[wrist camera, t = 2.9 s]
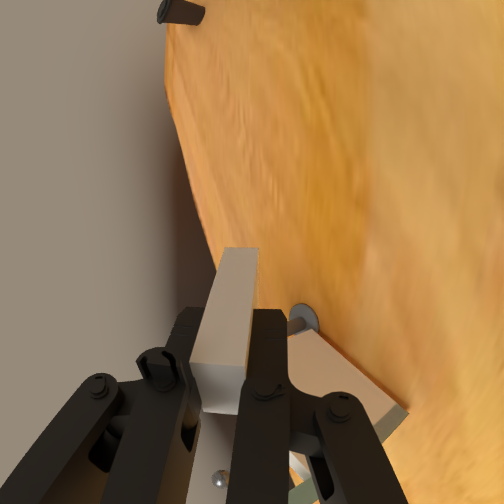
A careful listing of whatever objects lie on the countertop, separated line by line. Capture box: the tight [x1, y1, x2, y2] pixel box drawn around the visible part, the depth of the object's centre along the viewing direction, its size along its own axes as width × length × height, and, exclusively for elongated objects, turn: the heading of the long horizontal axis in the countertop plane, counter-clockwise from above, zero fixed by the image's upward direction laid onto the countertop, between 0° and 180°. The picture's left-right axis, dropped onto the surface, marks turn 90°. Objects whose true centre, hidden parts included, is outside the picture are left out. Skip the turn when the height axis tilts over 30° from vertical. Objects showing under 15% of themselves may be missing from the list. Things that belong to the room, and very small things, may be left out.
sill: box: [289, 304, 319, 335], centre depth 35 cm, size 20×5×1 cm, turn 26°
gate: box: [287, 317, 409, 504], centre depth 25 cm, size 19×2×17 cm, turn 71°
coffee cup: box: [157, 0, 205, 26], centre depth 47 cm, size 8×8×10 cm
